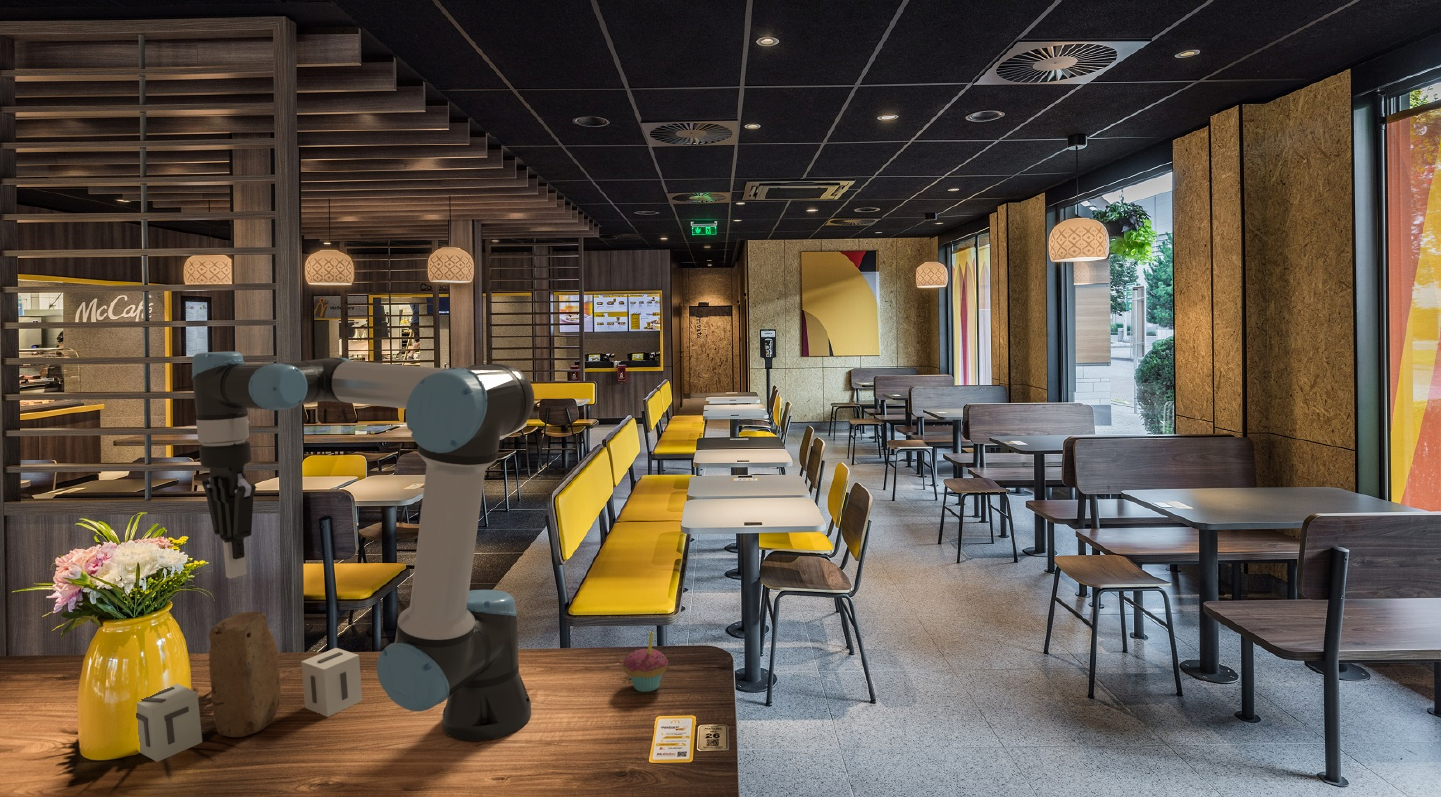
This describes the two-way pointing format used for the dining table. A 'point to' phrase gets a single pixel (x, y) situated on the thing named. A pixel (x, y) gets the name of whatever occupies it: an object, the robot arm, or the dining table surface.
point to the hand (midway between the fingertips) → (236, 575)
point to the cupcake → (645, 667)
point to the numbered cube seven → (168, 722)
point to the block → (243, 674)
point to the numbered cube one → (331, 681)
